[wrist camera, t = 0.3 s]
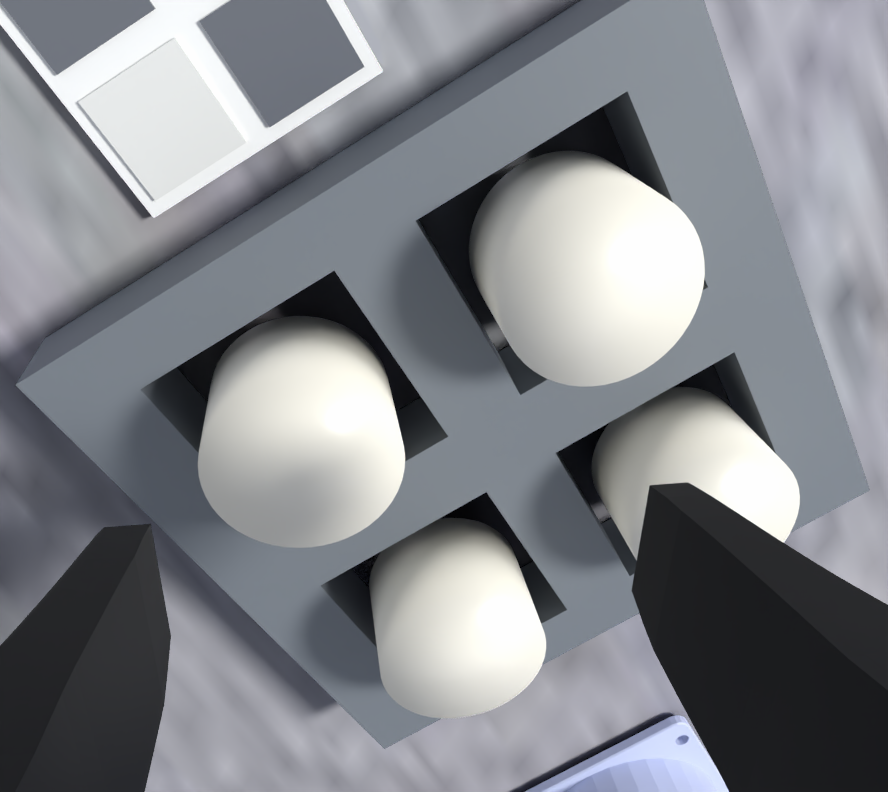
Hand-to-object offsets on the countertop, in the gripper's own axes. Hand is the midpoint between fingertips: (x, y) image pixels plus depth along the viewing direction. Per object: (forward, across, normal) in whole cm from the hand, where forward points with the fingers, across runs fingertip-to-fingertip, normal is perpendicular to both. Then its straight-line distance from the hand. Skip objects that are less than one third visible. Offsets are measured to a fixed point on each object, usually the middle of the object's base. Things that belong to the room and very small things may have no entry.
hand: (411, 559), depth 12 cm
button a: (+8, -8, +4) cm, 12 cm away
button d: (+8, +2, +2) cm, 8 cm away
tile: (+10, +4, -7) cm, 12 cm away
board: (+10, -3, +3) cm, 11 cm away
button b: (+8, -4, -2) cm, 9 cm away
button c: (+8, -2, +8) cm, 11 cm away
